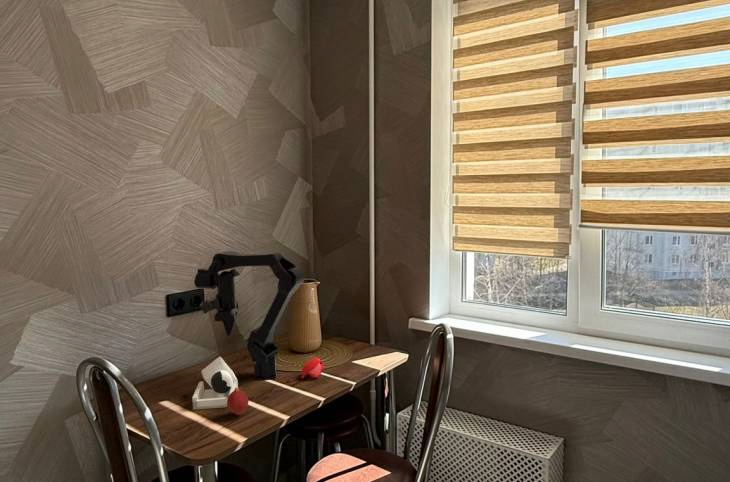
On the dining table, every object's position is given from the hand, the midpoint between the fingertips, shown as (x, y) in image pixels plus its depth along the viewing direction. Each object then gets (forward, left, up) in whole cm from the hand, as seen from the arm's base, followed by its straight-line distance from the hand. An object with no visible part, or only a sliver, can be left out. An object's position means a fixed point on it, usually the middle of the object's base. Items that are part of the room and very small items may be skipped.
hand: (228, 335), depth 192 cm
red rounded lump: (-5, +36, -13) cm, 39 cm away
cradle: (+2, +23, -13) cm, 26 cm away
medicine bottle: (+3, +14, -7) cm, 16 cm away
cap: (-27, +10, -13) cm, 32 cm away
